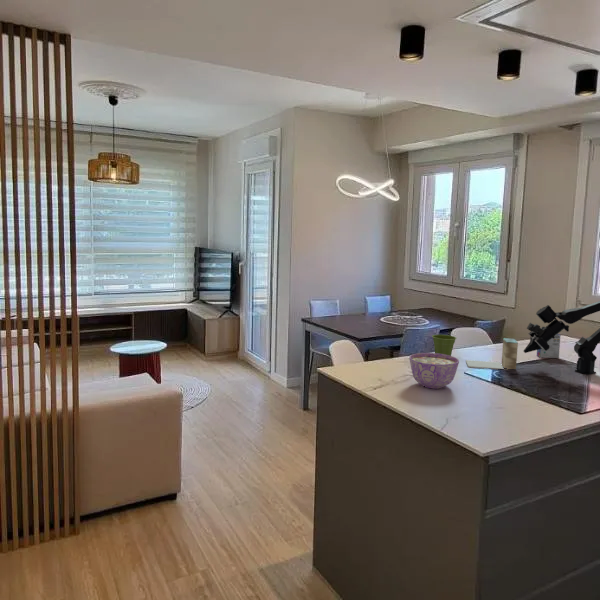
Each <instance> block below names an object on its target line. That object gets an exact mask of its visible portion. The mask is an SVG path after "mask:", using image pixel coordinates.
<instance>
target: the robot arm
mask: <svg viewBox="0 0 600 600" xmlns="http://www.w3.org/2000/svg"><path fill="white" fill-rule="evenodd" d="M598 312H600V300H598V301H595V302H593V303H590V304H587V305H584V306H581V307H575V308H568V309H564V310H562V311H560V312H559V311H558V312H557V311H556V312H555V311H554V310H553V309H552V307H551V306H550V305H548V304H547V305H546V306H543V307H542V308H540V309H538V310H537V311H536V313H535V315H536V316H537V317H538V318H539V319H540V320H541V321H542V323H544V324H547V325H546V326H542V327H541V326H540V325H539V324H537V323H535V324H534V323H532V322H529V324H528V325H527V327H526V329H527V330H528V331H529V333H528V335H529V342H528V344H526V345H527V346H526V347H525V348H524V349H523V353H525V354H526V353H530V352H534V351H537V350H539V349H542V348H541V347H543V348H544V350H545V351H547V350H548V349H549V347H550V346H549V345H548V343H547V342H548V341H549V340H550V339H552V338H553V339H554V338H555V337H554V336H556V335H557V334H559V333H561V332H563V331H565V332H569V328H570V326H569V325H573V324H575V323H577V322H579V321H580V320H582V319H583V318H584V317H586V316H589V315H590V316H591V315H592V314H595V313H598ZM558 319H559V320H558ZM598 344H600V327H598V329H596V331H595V332H593V333H592V334H591V335H590V336H589V337H583V336H582V337H580V338H579V339H578V341H575V344H574V346H573V351H574V353H576V354H577V356H578V358H577V361H576V369H575V370H574V372H577V373H580V374H585V375H592V374H596V373H597V371H595V366H596V365H595V364H596V360H597V356H596V355H595V354H594V353H593V352H594V351H595V350H596V348H597V346H598Z"/></svg>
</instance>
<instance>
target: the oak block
mask: <svg viewBox="0 0 600 600" xmlns="http://www.w3.org/2000/svg"><path fill="white" fill-rule="evenodd" d="M502 339H503V340H502V353H501V364H502V366H503V367H504V368H507V369H506V370H508V369H516V370H517V361H518V360H517V359H518V348H519V345H518V344H519V343H518V341H517V340H516V339H515V338H509V337H508V338H505V337H504V338H502Z"/></svg>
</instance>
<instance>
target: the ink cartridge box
mask: <svg viewBox="0 0 600 600" xmlns="http://www.w3.org/2000/svg"><path fill="white" fill-rule="evenodd" d="M561 336H562V335H561V334H559V333H558V334H557V335H556V336H554V337H555V338H554V339H553V338H552V339H550V340H549V341H548V342H547V343H548V345H549V346H550V347H549V349H548V350H547V351H545V350H544V348H543V347H541V348H542V349H539V350H536V357H539V358H541V359H542V358H543V359H545V358H547V359H549V358H550V359H558V358H560V348H561Z"/></svg>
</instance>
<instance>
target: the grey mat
mask: <svg viewBox="0 0 600 600" xmlns="http://www.w3.org/2000/svg"><path fill="white" fill-rule="evenodd" d="M465 363H466V366H467V368H470V367H471V368H472V369H484V368H491V369H490V370H498V369H504V368H503V366H502V365H501V364H502V362H501V361H500V362H499V361H486V360H485V361H484V360H471V359H470V360H469V359H466V360H465ZM504 370H505V369H504Z"/></svg>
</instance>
